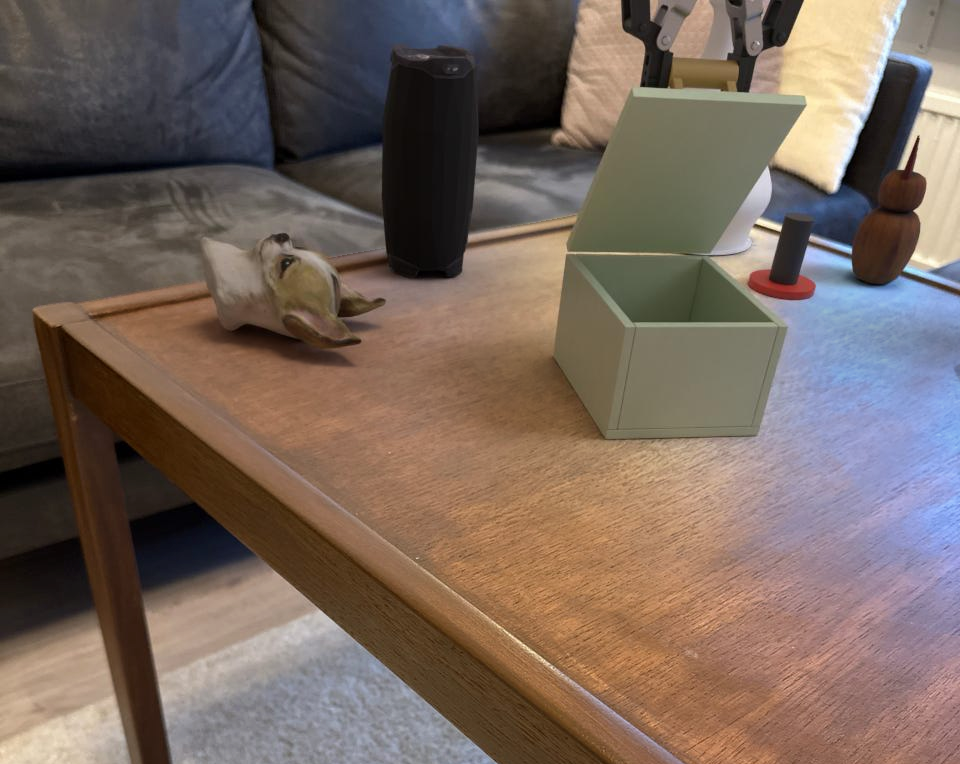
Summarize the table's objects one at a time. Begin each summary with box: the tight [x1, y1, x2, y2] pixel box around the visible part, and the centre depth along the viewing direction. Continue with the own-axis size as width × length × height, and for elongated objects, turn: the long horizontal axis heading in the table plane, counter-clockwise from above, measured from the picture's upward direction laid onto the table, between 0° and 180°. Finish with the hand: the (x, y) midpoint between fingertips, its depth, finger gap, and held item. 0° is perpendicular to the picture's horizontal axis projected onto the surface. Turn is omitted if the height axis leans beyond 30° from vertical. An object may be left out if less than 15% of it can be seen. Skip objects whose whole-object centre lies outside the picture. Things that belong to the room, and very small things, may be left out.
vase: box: [683, 0, 773, 256], centre depth 110 cm, size 17×17×25 cm
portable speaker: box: [381, 43, 480, 279], centre depth 95 cm, size 9×9×20 cm
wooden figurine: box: [851, 134, 928, 285], centre depth 105 cm, size 7×6×15 cm
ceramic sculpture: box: [200, 232, 387, 350], centre depth 83 cm, size 11×9×15 cm
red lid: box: [747, 212, 817, 300], centre depth 103 cm, size 7×7×7 cm
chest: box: [552, 253, 789, 440], centre depth 79 cm, size 16×13×9 cm
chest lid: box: [565, 56, 808, 255], centre depth 74 cm, size 16×13×5 cm
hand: (691, 110), depth 70 cm, fingers closed on chest lid, 5 cm apart
